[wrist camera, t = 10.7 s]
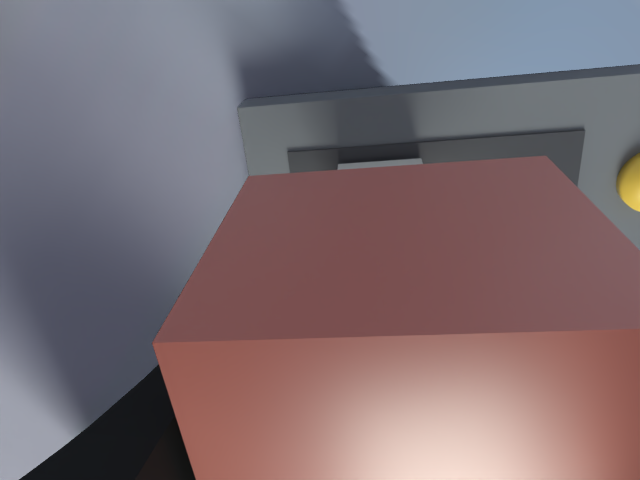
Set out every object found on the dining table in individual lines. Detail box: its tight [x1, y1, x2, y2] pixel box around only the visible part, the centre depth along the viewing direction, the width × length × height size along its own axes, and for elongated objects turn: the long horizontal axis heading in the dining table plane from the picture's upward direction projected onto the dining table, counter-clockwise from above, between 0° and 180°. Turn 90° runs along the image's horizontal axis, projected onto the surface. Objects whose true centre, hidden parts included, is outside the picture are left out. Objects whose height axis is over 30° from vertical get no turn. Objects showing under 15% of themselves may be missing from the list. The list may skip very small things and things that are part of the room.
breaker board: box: [237, 64, 640, 250], centre depth 17 cm, size 13×11×2 cm
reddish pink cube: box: [152, 156, 640, 480], centre depth 8 cm, size 5×5×5 cm
